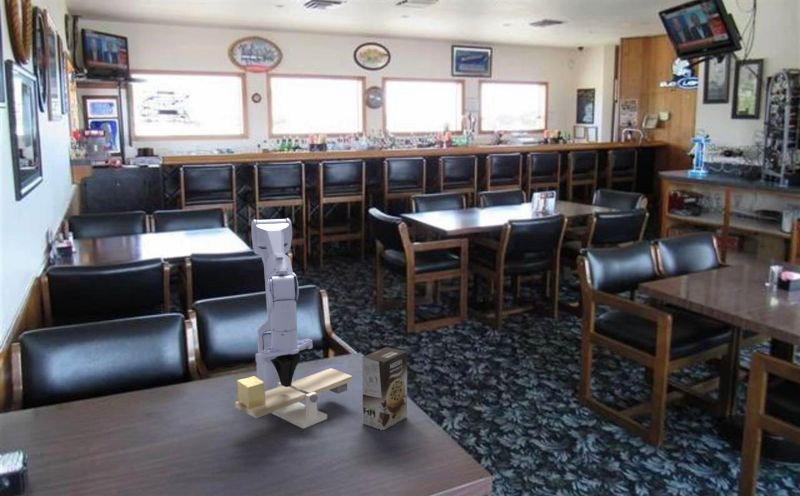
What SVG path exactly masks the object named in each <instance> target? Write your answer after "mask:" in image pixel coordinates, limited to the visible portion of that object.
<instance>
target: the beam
mask: <svg viewBox="0 0 800 496" xmlns="http://www.w3.org/2000/svg"><path fill="white" fill-rule="evenodd" d="M353 377H354V376H353V375H351V374H348V373H345V372H343V371H340V370H338V369H335V368H331V367H330V368H326V369H323V370H322V371H319V372H317V373H316V372H315V373H313V374H311V375H308V376H305V377H302V378H299V379H297V380H293V382H292V383H291V386H289V387H284V386H279V387H277V388H274V389H271V390H268V391H265V402H266V404H265V405H261V406H258V407H255V408H251V409H248V408H246V407H245V406H244V405H242V404H241V403H240V402H239V401H238V400H237V401H235V402H234V407H235V409H236V410H240V411H241V412H243V413H244V414H247V415H249V416H251V417H253V418H255V419H258V418H260V417H264V416H265V415H268V414H272V413H271V412H274V411H276V410H279V409H281V408H284V407H287V406H289V405H292V404H294V403H297V402H302V401H305V395H306V394H309V393H311V392H315V393H317V396H318V395H320V394H323V393H324V392H327V391H330V392H332V393H335V394H337V395H338V394H341V393H344V392H345V391H346V392H347V391H348V383H351V382H353V381H354V379H353Z"/></svg>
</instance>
